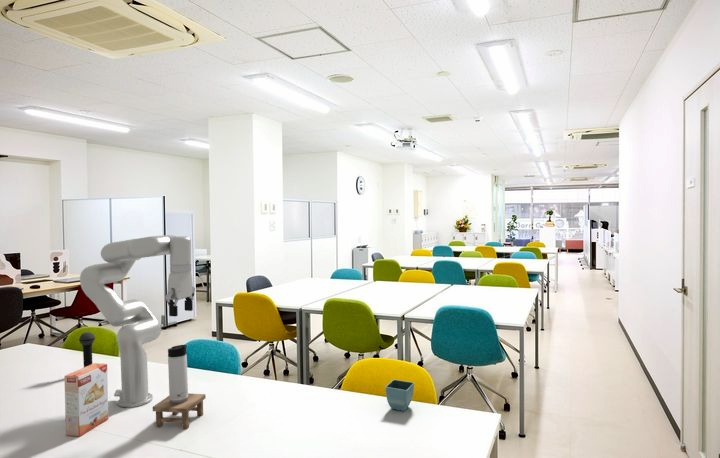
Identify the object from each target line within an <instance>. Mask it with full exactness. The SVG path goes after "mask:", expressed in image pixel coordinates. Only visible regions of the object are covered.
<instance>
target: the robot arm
mask: <svg viewBox="0 0 720 458" xmlns="http://www.w3.org/2000/svg"><path fill="white" fill-rule="evenodd" d="M191 241H192V240H191V238H190V237H189V236H183V235H181V236H179V235H178V236H176V235H172V234H166V235H152V236H145V237H140V238H132V239H125V240H120V241H114V242H110V243H107V244H104V246H103V247H102V248H101V250H100V257H101V258H102V260H103V261H104V263H96V264H91V265H88V266H87V267H85V268H84V269H82V270H81V272H80V275H79V284H80V287H81V290H82V291H83V293H84V294H85V296H86V297H87V298H89V300H91V301H92V302H93V303H94V305H95V306H96V308H97V309H98V310H99V311H100V313H101V314H102V316H103V317H104V319H105V320H106V321H107V322H108V324H110V325H111V326H112V327H114V328H115V327H116V328H117V327H121V326H122V327H121V328H120V329H119V330H118V331H117V333H116V341H117V345H118V349H119V355H120V377H121V379H120V380H121V389H116V390H115V392H114V393H113V396H114V397H119V399H118V400H117V405H118V407H122V408H135V407H139V406H143V405H145V404H146V405H147V404H148V403H150V402H151V401H152V400H153V399H154V397H153V394H152V393H150V392H149V379H148V377H149V375H148V356H147V352H146V351H145V348H144V347H143V345H145V344H148V343H151V342H153V341H155V340H157V339H158V338H160V336H161V333H162V327H161V325H160V323H159V321H158V319H157V318H156V317H155V316H154V314H153V313H152V311H151V310H150V309H149V308H148V307H147V305H146V304H145V303H144V302H143V301H141V300H139V299H137V298H136V299H134V298H133V299H129V300H122V299H121V297H120V296H119V295H118V293H117V292H116V291H115V290H113V289H112V288H110V287H109V286H106V285H107V284H111V283H117V282H121V281H122V280H123V279H125V278H126V276H127V275H128V274H129V272H130V270H131V269H132V268H133V266H134V264H135V263H136V261H139V260H141V259H143V258H144V259H145V258H151V257H159V256H166V255H167V256H168V255H169V274H168V280H167V292H166V293H167V294H166V295H165V297H164V298H165V299H166V303H167V306H168V315H169V317H178V313H179V312H178V311H179V310H178V302H179V300H183V299H185V300H184V311H186V312H192V311H193V310H194V306H193V303H194V302H193V301H194V296H195V292H196V287H194V285H193V275H192V242H191ZM105 262H106V263H105Z"/></svg>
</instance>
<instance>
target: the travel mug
mask: <svg viewBox="0 0 720 458" xmlns="http://www.w3.org/2000/svg"><path fill="white" fill-rule="evenodd" d="M187 347H188V345H186V344H178V345H174V346H172V347H170V348H168V349H167V353H168V355H167V364H168V365H167V367H168V368H167V369H168V390H169V391H168V393H169V395H168V396H170V402H171V403H174V404H177V403H182V402H185V401H187V400H188V393H189V384H188V383H189V381H188V379H189V377H188V359H187V358H188V356H187V354H188V353H187Z"/></svg>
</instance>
